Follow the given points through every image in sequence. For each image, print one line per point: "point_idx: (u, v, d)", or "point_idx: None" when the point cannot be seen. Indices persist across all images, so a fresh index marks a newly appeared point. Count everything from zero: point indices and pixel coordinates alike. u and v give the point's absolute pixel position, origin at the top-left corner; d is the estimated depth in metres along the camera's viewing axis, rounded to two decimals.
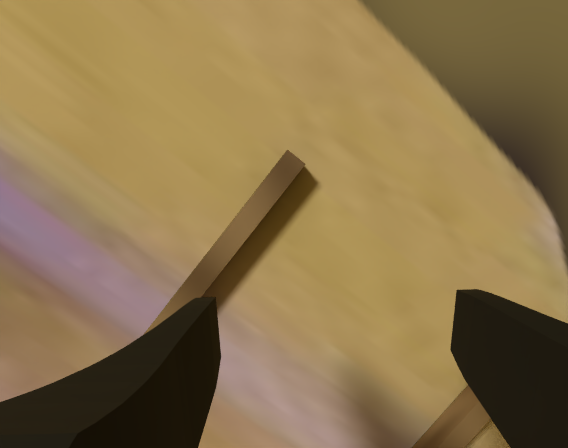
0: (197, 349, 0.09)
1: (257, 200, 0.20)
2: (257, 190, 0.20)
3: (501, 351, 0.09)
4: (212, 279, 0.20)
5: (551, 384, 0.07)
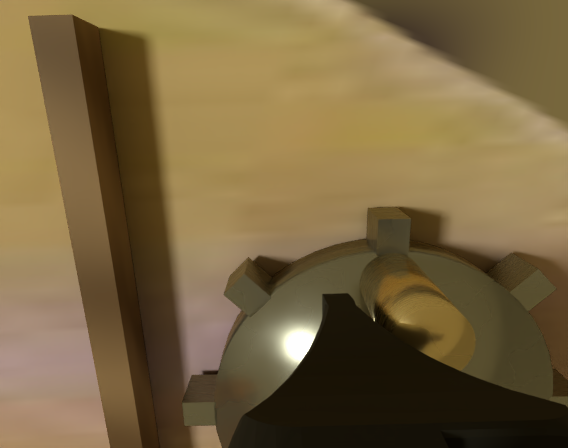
0: None
1: None
2: None
3: None
4: None
5: None
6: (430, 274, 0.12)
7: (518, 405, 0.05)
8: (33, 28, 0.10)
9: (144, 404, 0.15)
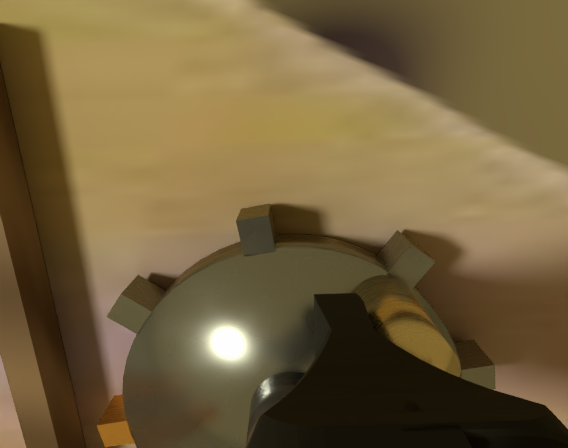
0: None
1: None
2: None
3: None
4: None
5: None
6: None
7: (498, 406, 0.05)
8: None
9: (61, 401, 0.15)
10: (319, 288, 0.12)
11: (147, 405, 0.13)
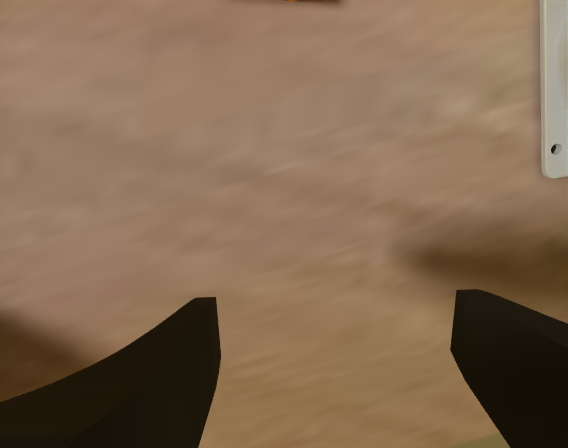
0: (197, 349, 0.09)
1: None
2: None
3: (501, 351, 0.09)
4: None
5: (551, 384, 0.07)
6: None
7: None
8: None
9: None
10: None
11: None
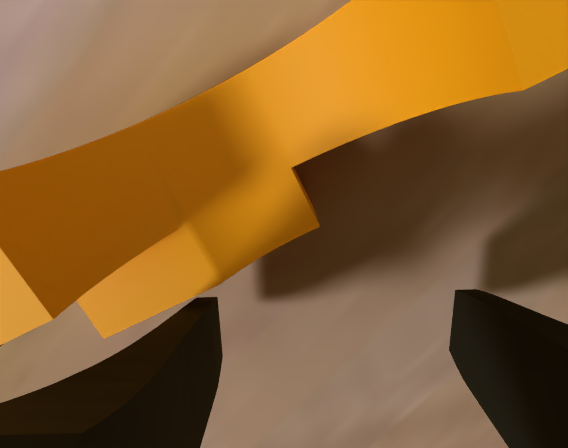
0: (199, 349, 0.09)
1: None
2: None
3: (499, 351, 0.09)
4: None
5: (549, 384, 0.07)
6: None
7: None
8: None
9: None
10: None
11: None
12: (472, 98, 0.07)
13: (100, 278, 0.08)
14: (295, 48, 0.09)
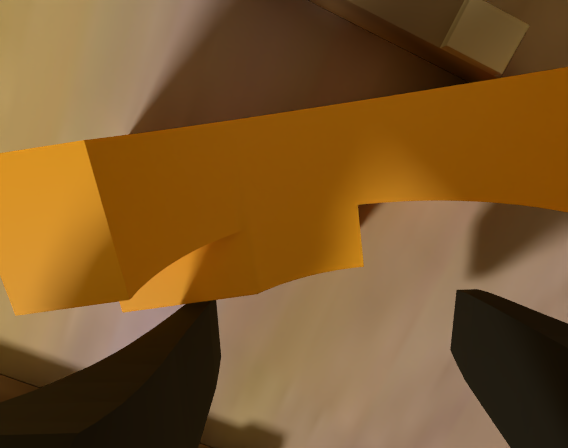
0: (197, 349, 0.09)
1: None
2: None
3: (501, 351, 0.09)
4: None
5: (551, 384, 0.07)
6: None
7: None
8: None
9: None
10: None
11: None
12: None
13: (166, 264, 0.07)
14: (406, 100, 0.09)
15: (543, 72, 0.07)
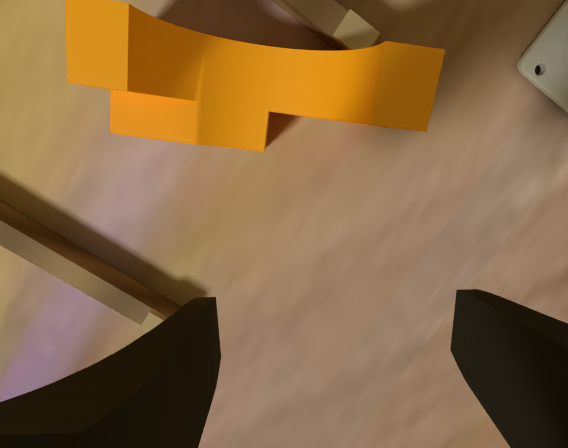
0: (197, 349, 0.09)
1: None
2: None
3: (501, 351, 0.09)
4: (3, 223, 0.19)
5: (551, 384, 0.07)
6: None
7: None
8: None
9: None
10: None
11: None
12: (359, 123, 0.14)
13: (148, 92, 0.14)
14: (306, 54, 0.16)
15: (362, 49, 0.14)
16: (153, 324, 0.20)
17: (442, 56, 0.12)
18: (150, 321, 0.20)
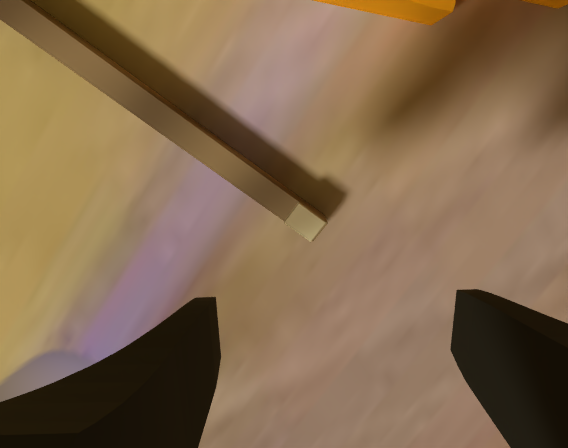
0: (197, 349, 0.09)
1: (44, 39, 0.16)
2: (31, 39, 0.16)
3: (501, 351, 0.09)
4: (150, 96, 0.17)
5: (551, 384, 0.07)
6: None
7: None
8: None
9: None
10: None
11: None
12: None
13: None
14: None
15: None
16: (300, 218, 0.18)
17: None
18: (298, 214, 0.18)
